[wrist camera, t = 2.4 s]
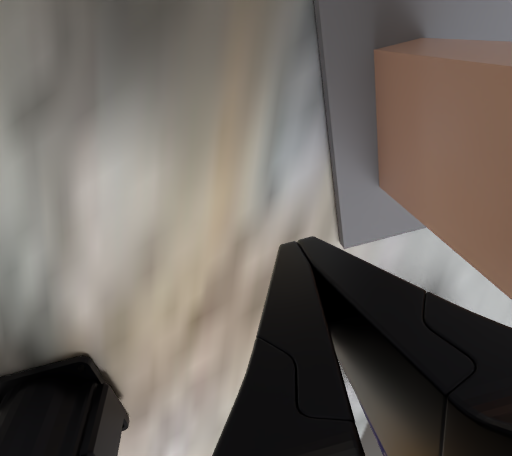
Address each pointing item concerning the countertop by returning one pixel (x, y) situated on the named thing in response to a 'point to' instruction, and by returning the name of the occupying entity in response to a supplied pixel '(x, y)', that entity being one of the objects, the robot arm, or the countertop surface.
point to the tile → (450, 143)
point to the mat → (364, 95)
